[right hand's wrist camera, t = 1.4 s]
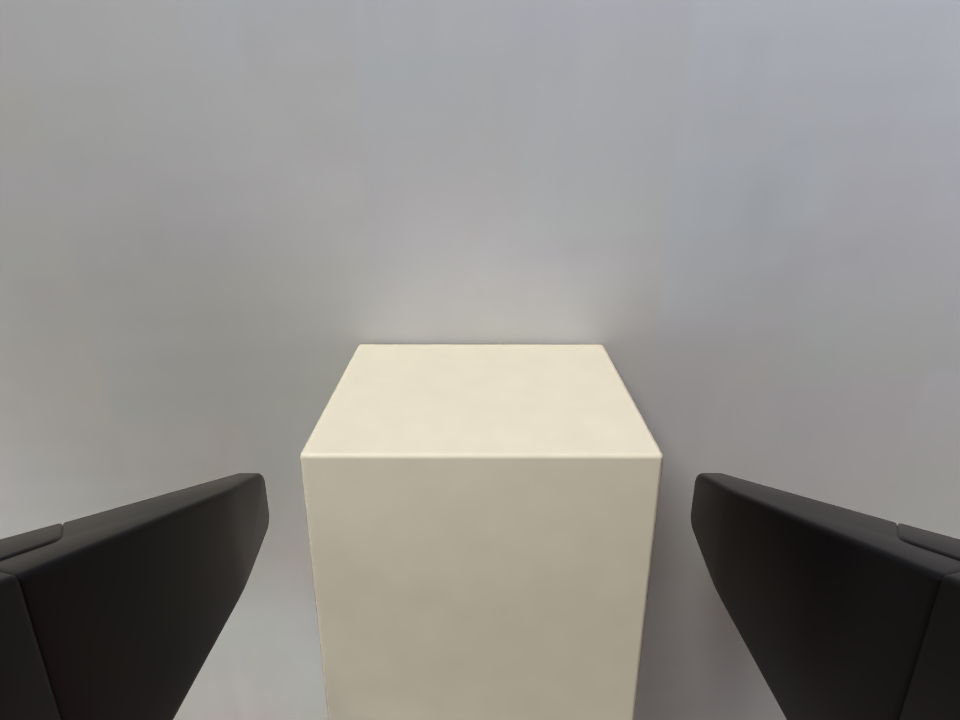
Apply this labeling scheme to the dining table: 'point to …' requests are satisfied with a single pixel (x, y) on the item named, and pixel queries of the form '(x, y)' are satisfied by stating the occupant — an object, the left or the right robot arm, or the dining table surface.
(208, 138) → the dining table surface
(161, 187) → the dining table surface
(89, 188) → the dining table surface
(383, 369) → the block
